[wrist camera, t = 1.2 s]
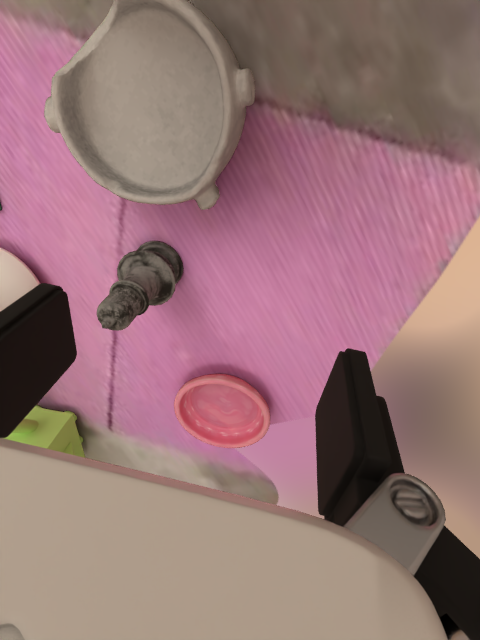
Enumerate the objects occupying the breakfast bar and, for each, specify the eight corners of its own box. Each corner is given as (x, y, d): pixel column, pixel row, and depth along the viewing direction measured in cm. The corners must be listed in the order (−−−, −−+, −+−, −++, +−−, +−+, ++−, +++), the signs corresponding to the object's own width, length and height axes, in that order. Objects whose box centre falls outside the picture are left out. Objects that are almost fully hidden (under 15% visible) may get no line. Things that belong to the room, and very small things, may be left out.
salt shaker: (124, 241, 35) (53, 297, 25) (177, 234, 34) (124, 290, 24) (142, 291, 38) (85, 358, 28) (191, 287, 37) (149, 356, 27)
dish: (64, 134, 30) (26, 139, 26) (123, -57, 23) (83, -91, 19) (200, 230, 33) (185, 249, 29) (290, 88, 26) (287, 86, 22)
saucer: (190, 428, 50) (184, 446, 47) (171, 363, 43) (162, 379, 41) (275, 432, 47) (273, 452, 45) (267, 363, 41) (265, 381, 38)
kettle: (70, 462, 61) (28, 528, 51) (1, 415, 56) (-60, 478, 47) (117, 434, 54) (77, 504, 44) (41, 378, 49) (-21, 442, 40)
